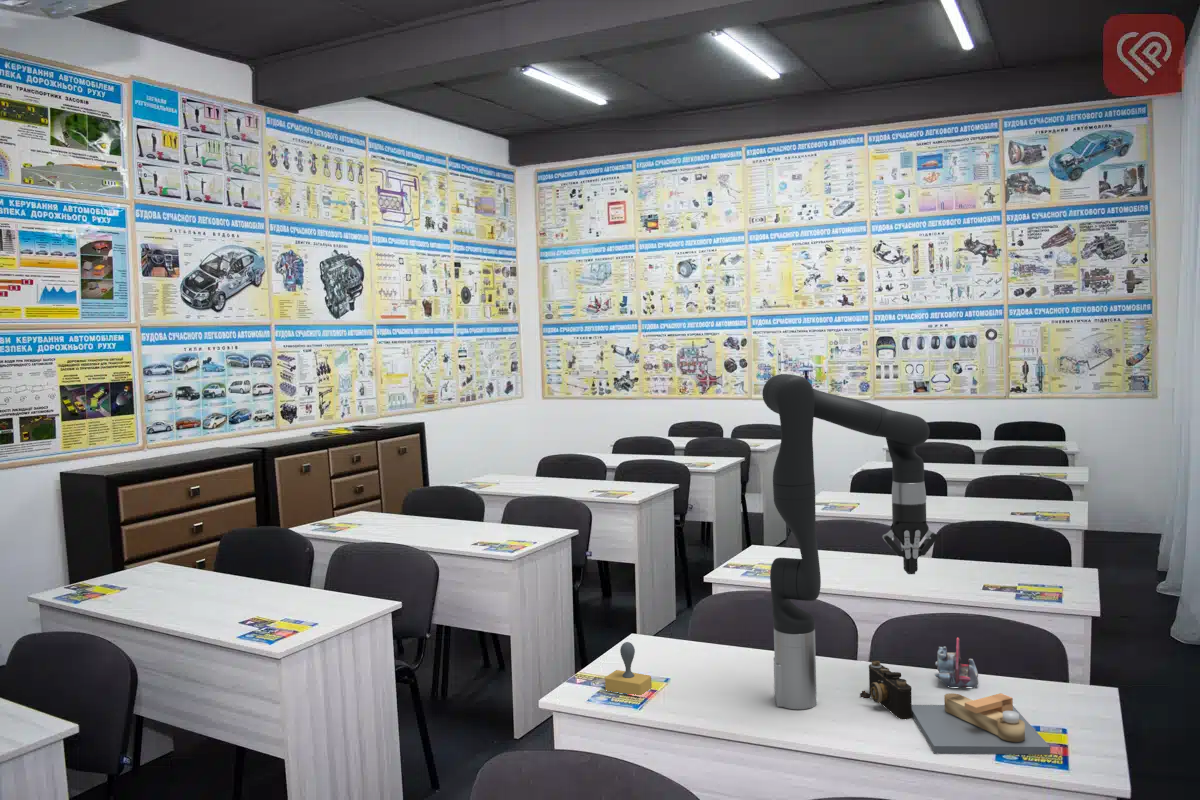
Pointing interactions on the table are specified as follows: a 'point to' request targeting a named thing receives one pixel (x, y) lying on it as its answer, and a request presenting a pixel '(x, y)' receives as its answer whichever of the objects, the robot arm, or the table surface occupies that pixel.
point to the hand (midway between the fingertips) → (910, 573)
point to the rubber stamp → (628, 675)
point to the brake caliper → (955, 668)
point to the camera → (889, 690)
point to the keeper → (991, 703)
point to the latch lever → (985, 719)
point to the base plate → (972, 734)
